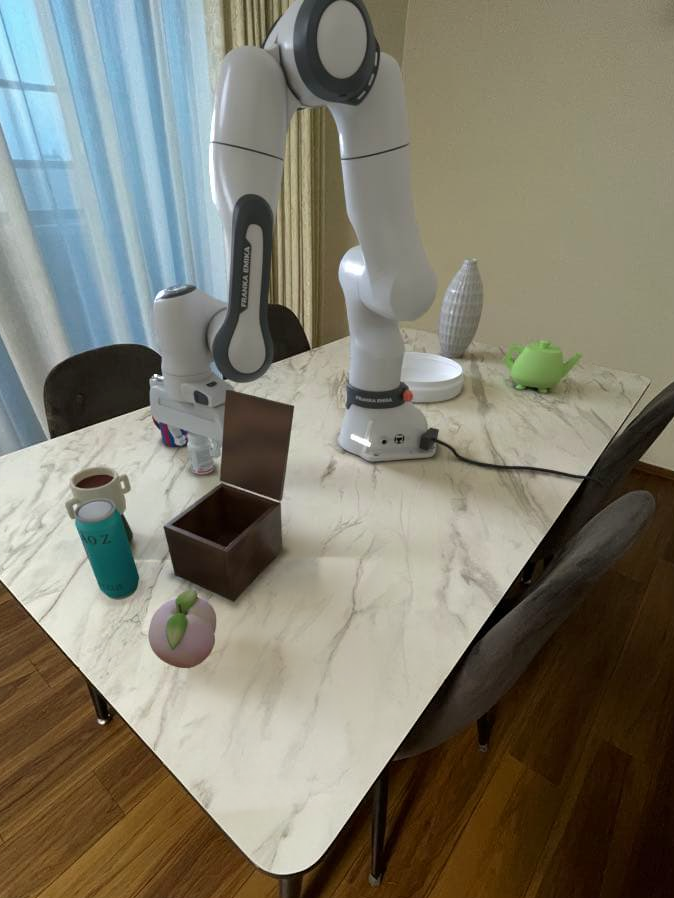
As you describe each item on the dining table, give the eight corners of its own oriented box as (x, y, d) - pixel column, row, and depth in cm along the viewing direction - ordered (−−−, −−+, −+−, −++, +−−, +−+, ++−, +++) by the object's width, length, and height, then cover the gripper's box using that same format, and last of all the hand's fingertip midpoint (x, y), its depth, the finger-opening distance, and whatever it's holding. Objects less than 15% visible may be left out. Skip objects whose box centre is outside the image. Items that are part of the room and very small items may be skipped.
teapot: (569, 383, 140) (585, 339, 132) (569, 399, 131) (586, 353, 123) (499, 373, 146) (510, 330, 138) (494, 388, 136) (506, 343, 128)
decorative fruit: (162, 631, 65) (147, 579, 59) (222, 627, 66) (213, 575, 60) (151, 689, 58) (133, 638, 52) (218, 684, 59) (208, 633, 52)
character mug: (129, 520, 85) (110, 456, 77) (154, 535, 82) (137, 470, 74) (74, 550, 78) (47, 484, 70) (98, 568, 75) (73, 501, 67)
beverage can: (107, 577, 74) (78, 497, 64) (144, 575, 74) (121, 496, 64) (97, 604, 69) (65, 523, 60) (137, 602, 70) (111, 521, 60)
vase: (434, 359, 155) (451, 262, 138) (432, 348, 165) (448, 255, 147) (473, 362, 154) (495, 264, 136) (469, 350, 164) (490, 257, 146)
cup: (175, 449, 106) (170, 421, 102) (148, 436, 111) (141, 409, 106) (198, 438, 110) (193, 411, 106) (170, 427, 115) (165, 400, 111)
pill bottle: (218, 465, 101) (213, 429, 95) (207, 476, 97) (202, 439, 92) (198, 462, 102) (193, 426, 96) (187, 472, 98) (180, 435, 93)
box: (233, 602, 70) (227, 552, 63) (174, 575, 74) (163, 525, 68) (282, 551, 79) (281, 502, 73) (227, 529, 83) (221, 482, 77)
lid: (291, 406, 66) (294, 405, 67) (225, 389, 70) (229, 389, 71) (279, 501, 72) (282, 499, 73) (219, 480, 76) (222, 479, 77)
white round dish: (447, 368, 149) (450, 351, 146) (473, 402, 128) (478, 383, 125) (362, 368, 148) (364, 351, 145) (375, 403, 127) (377, 383, 124)
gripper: (136, 377, 90) (149, 442, 98) (219, 401, 81) (226, 470, 90) (160, 367, 94) (171, 431, 102) (241, 390, 86) (246, 457, 94)
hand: (197, 450), depth 96 cm, fingers open, 8 cm apart
